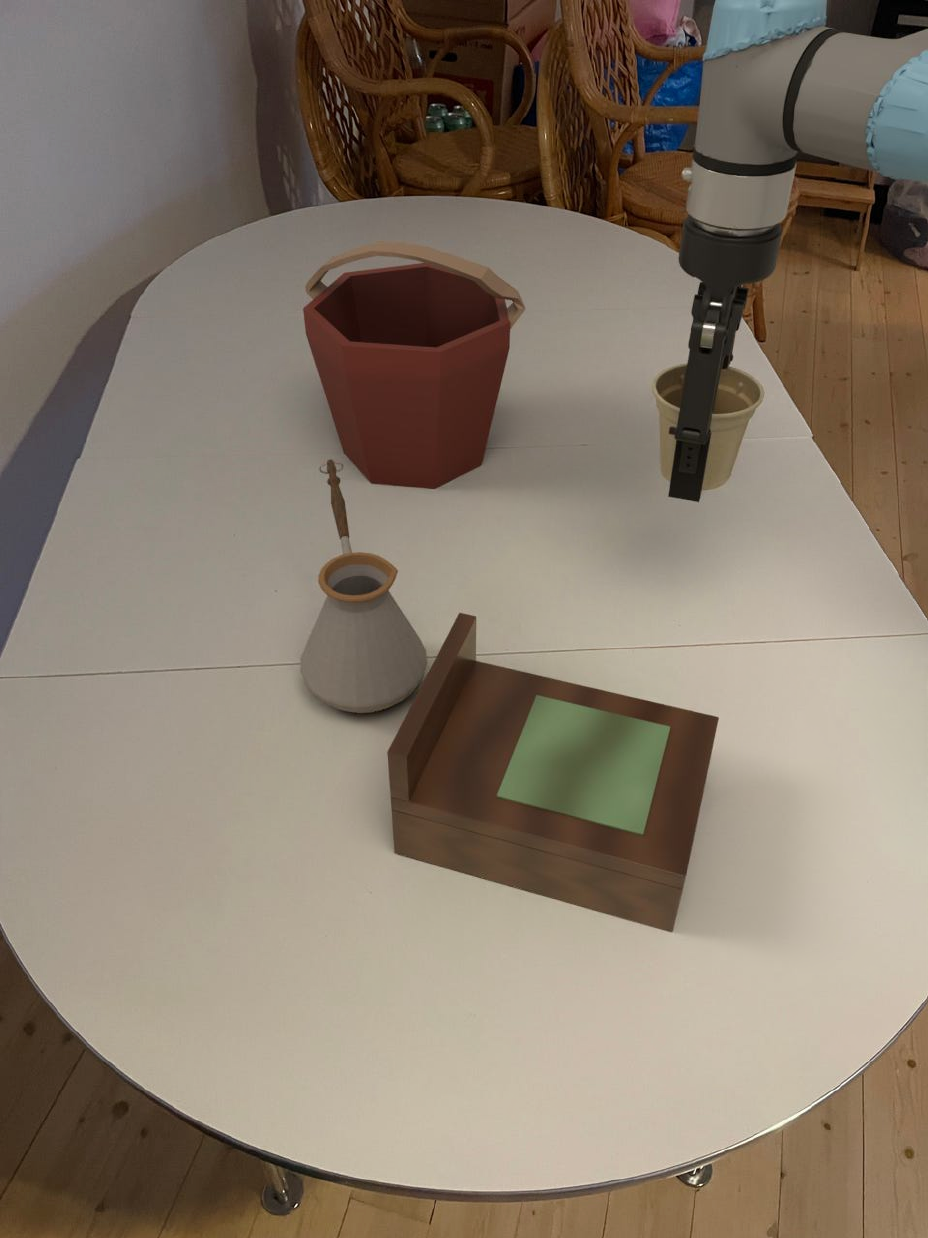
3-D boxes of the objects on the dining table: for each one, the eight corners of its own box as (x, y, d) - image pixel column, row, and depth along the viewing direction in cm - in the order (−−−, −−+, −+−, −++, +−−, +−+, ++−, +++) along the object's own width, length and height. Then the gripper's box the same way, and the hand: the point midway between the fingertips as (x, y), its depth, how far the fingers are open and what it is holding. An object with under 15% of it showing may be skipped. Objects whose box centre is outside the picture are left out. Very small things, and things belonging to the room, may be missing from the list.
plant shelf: (705, 773, 88) (729, 672, 80) (672, 932, 77) (696, 832, 69) (459, 713, 93) (459, 612, 85) (394, 853, 82) (386, 752, 74)
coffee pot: (439, 717, 93) (436, 587, 83) (310, 739, 91) (292, 608, 81) (396, 571, 109) (390, 447, 99) (286, 587, 107) (268, 462, 97)
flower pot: (620, 471, 95) (629, 385, 89) (687, 435, 100) (699, 351, 94) (701, 515, 90) (716, 427, 84) (768, 475, 94) (786, 389, 89)
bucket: (548, 443, 127) (561, 240, 111) (444, 532, 114) (441, 316, 97) (388, 387, 138) (378, 194, 121) (276, 463, 124) (247, 257, 107)
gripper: (706, 169, 88) (672, 408, 103) (658, 264, 73) (627, 527, 88) (797, 179, 86) (749, 420, 101) (767, 278, 71) (716, 544, 86)
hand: (692, 470), depth 94 cm, fingers closed on flower pot, 8 cm apart
